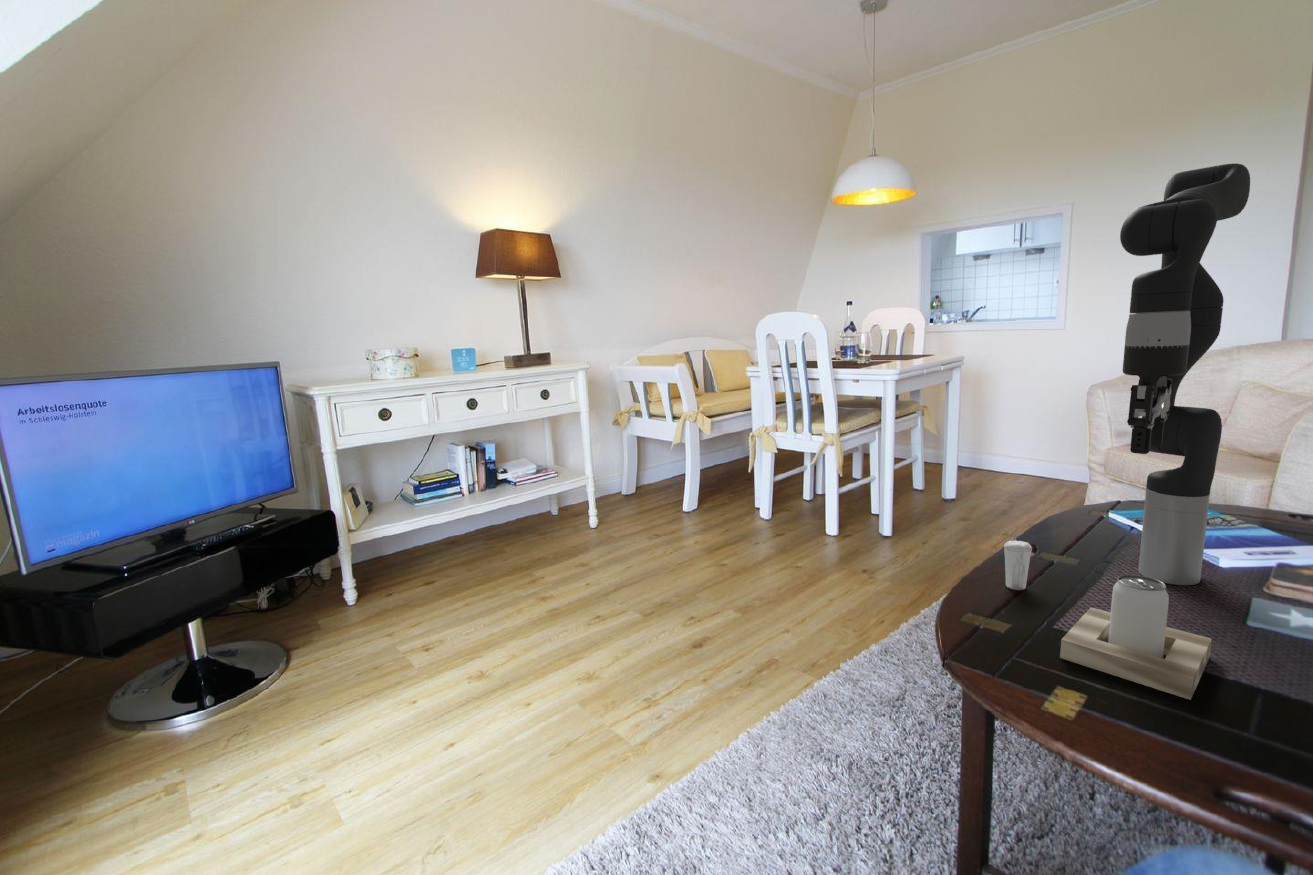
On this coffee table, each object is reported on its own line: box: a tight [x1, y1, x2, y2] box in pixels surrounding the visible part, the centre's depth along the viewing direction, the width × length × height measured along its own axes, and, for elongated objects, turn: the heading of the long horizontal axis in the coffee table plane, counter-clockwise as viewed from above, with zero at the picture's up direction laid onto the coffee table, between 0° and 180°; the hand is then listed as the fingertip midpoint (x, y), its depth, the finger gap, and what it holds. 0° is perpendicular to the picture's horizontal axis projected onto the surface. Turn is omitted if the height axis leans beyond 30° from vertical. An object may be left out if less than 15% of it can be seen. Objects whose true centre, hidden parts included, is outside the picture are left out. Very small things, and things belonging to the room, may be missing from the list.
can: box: [1107, 574, 1170, 659], centre depth 90 cm, size 6×6×12 cm
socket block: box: [1059, 607, 1213, 701], centre depth 90 cm, size 15×15×3 cm
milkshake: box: [1003, 531, 1033, 591], centre depth 116 cm, size 4×5×10 cm
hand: (1146, 448), depth 93 cm, fingers open, 8 cm apart
